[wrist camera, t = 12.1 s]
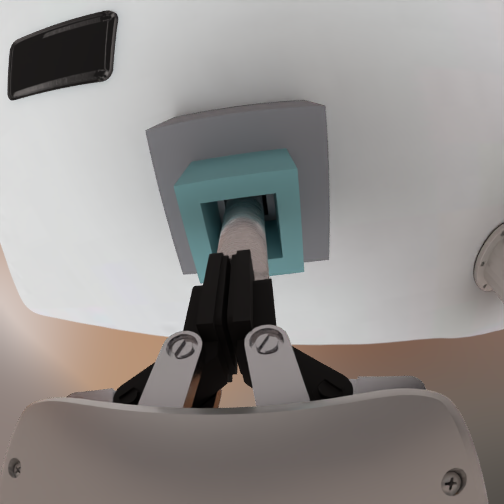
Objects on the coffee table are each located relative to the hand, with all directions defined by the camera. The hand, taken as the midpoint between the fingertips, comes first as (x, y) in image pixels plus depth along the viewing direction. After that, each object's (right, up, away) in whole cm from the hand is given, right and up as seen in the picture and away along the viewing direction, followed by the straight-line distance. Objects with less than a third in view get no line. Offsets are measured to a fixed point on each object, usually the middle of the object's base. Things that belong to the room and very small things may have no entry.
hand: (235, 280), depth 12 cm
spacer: (0, +5, +8) cm, 9 cm away
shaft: (0, +8, +13) cm, 15 cm away
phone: (-20, +22, +7) cm, 30 cm away
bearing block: (0, +9, +15) cm, 17 cm away
